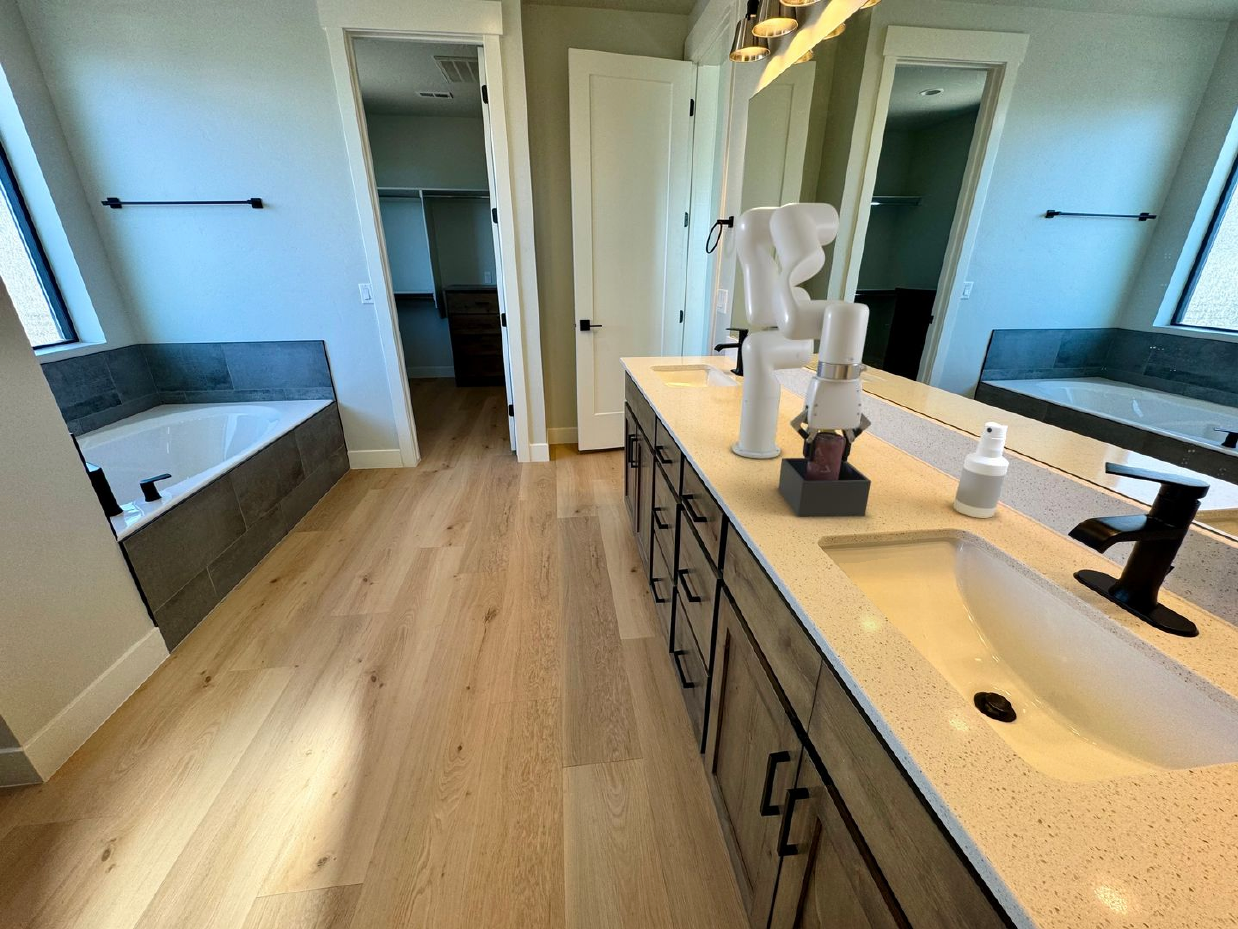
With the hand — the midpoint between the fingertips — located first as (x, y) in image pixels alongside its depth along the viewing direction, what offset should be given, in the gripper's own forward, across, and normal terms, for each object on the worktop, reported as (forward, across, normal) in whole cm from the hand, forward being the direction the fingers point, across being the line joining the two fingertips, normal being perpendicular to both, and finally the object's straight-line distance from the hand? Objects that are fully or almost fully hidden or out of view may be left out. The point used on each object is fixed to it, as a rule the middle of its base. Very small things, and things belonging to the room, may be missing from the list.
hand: (825, 458), depth 100 cm
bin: (+10, 0, 0) cm, 10 cm away
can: (+9, 0, 0) cm, 9 cm away
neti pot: (+10, -16, -37) cm, 42 cm away
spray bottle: (+10, -29, +5) cm, 31 cm away
